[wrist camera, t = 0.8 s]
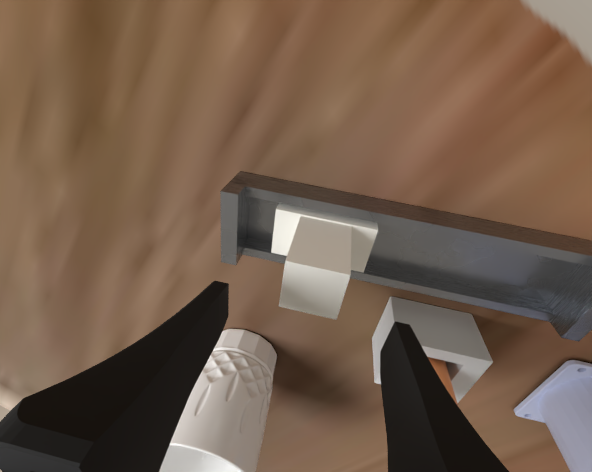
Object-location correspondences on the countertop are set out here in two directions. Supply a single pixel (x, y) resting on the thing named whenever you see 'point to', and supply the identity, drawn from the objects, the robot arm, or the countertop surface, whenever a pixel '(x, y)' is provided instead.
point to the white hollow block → (438, 340)
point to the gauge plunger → (443, 375)
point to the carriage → (319, 256)
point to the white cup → (226, 408)
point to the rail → (429, 251)
